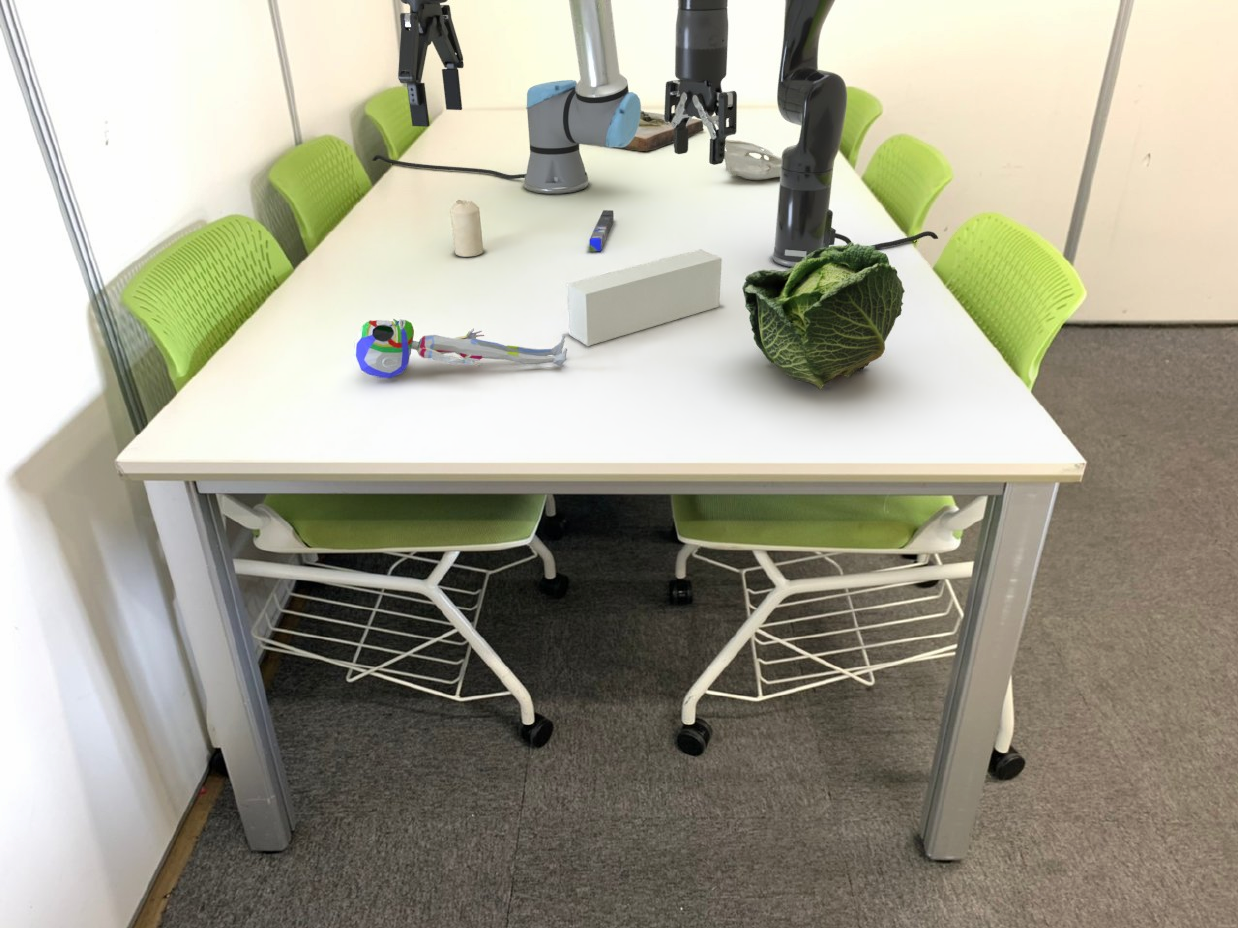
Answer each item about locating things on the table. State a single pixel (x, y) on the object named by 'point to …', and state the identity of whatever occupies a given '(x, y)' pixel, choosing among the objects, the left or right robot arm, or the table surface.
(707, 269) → the bar
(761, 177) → the anatomical model
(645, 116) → the plaque
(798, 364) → the vegetable
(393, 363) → the toy
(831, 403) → the table surface
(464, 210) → the candle
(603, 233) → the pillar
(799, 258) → the right robot arm
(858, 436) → the table surface
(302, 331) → the table surface
